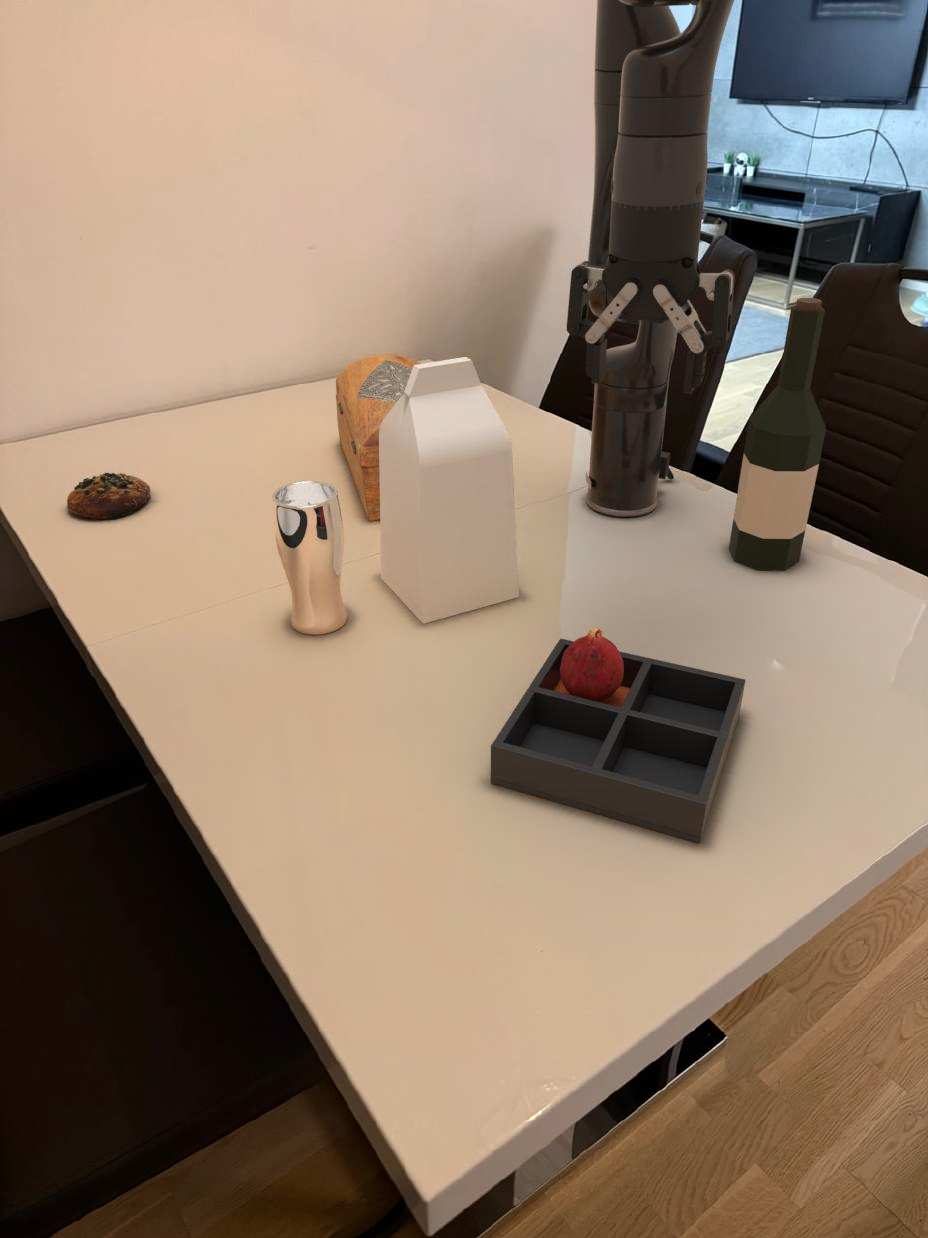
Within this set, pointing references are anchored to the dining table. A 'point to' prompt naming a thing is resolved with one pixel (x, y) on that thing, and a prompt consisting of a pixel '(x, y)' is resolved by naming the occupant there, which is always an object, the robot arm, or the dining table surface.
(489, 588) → the milk
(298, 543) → the beer glass
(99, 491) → the bread roll
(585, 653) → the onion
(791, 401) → the wine bottle
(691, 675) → the compartment tray
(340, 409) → the wooden box
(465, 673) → the dining table surface
